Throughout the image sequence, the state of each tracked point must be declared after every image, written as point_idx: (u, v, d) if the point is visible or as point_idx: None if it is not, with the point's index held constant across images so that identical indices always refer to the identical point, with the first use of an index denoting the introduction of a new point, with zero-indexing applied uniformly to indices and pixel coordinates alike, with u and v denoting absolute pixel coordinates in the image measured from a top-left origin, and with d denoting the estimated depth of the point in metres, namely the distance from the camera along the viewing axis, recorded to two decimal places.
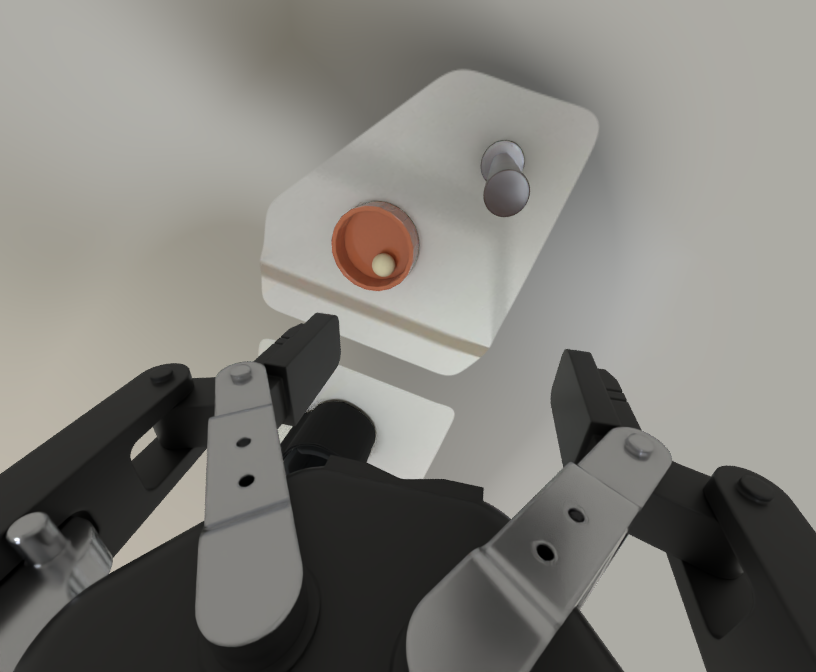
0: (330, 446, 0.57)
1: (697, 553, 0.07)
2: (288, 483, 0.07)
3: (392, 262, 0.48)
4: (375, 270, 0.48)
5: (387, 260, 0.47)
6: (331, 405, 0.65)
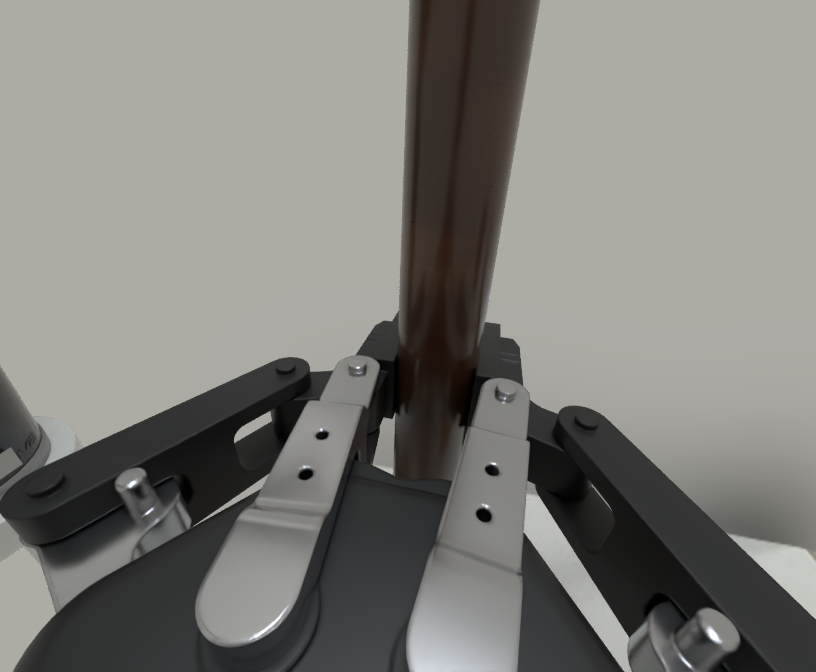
0: None
1: (548, 478, 0.09)
2: (346, 492, 0.06)
3: None
4: None
5: None
6: None
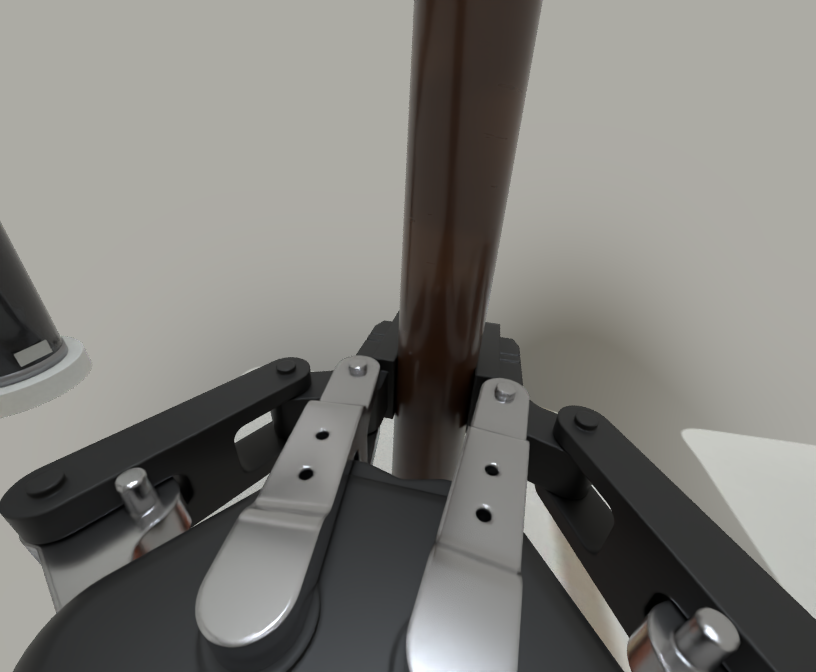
0: None
1: (547, 478, 0.09)
2: (346, 491, 0.06)
3: None
4: None
5: None
6: None
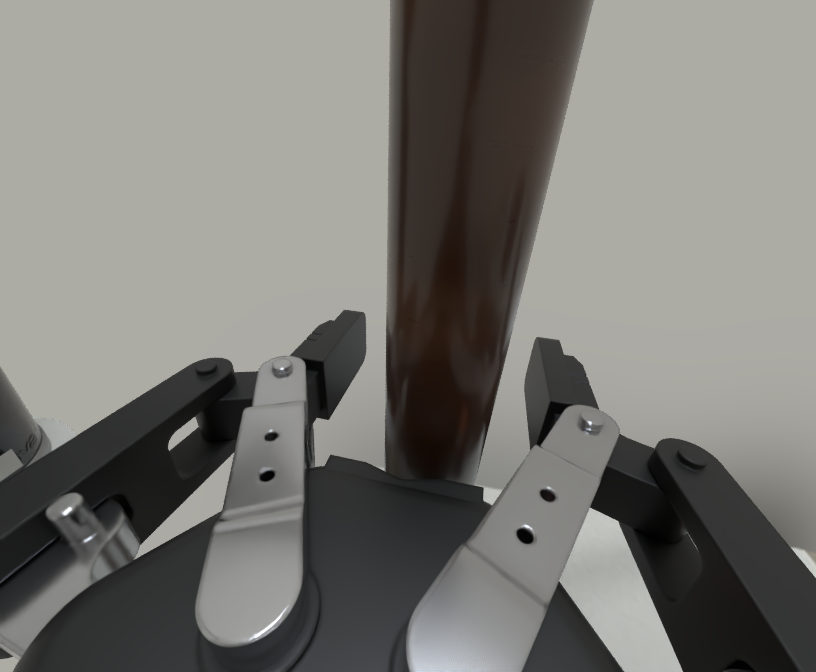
0: None
1: (642, 519, 0.08)
2: (308, 483, 0.07)
3: None
4: None
5: None
6: None
